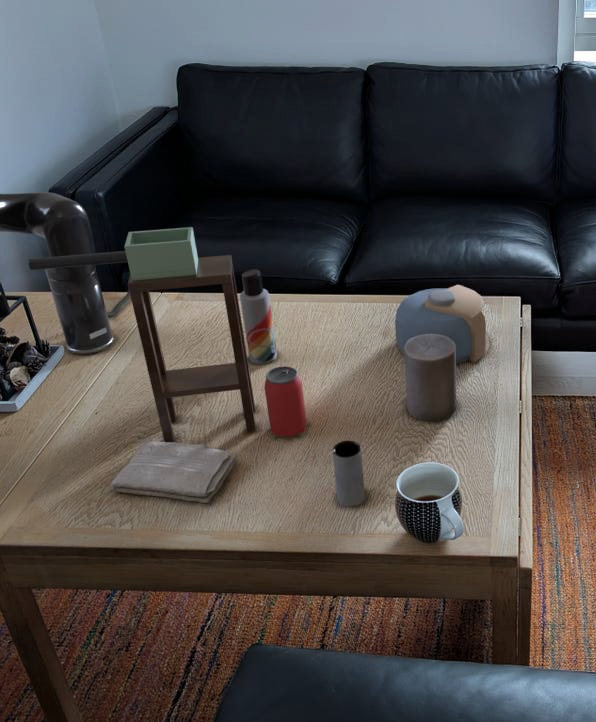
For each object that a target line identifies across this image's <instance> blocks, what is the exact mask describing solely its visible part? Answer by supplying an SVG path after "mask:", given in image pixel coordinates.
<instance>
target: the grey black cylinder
mask: <svg viewBox="0 0 596 722" xmlns="http://www.w3.org/2000/svg"><path fill="white" fill-rule="evenodd" d="M362 452H363V451H362V446H361V444H360V443H358V442H357V441H354V440H350V439H349V440H343V441H339V442H337V443H336V444H335V445H334V446H333V447H332V460H333V470H334V471H333V472H334V480H335V488H336V489H335V490H336V498H337V499H336V500H337V502H338V504H339V505H341V506H343V507H348V508H351V507H352V508H353V507H357V506H359V505H360V504H362V503H363V502H364V501H365V497H366V493H365V480H364V467H363V453H362Z"/></svg>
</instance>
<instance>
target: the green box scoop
mask: <svg viewBox="0 0 596 722" xmlns="http://www.w3.org/2000/svg"><path fill="white" fill-rule="evenodd" d="M198 258H199V256H198V250H197V244H196V239H195V233H194V228H193V227H192V226H190V227H189V226H188V227H178V228H177V227H176V228H163V229H149V230H138V231H128V233H127V236H126V240H125V244H124V250H122V251H121V250H119V251H110V252H98V253H97V252H95V254H83V255H71V256H59V257H50V256H47V257H37V258H35V257H34V258H29V259H28V268H29V270H30V271H38V270H39V271H40V270H45V269H52V268H64V267H76V266H88V265H95V266H96V265H97V266H99V265H109V264H110V265H111V264H122V263H123V264H124V263H128V269H129V272H130V273H131V277H132V281H135V280H146V279H157V278H168V277H179V276H191V275H197V268H198Z"/></svg>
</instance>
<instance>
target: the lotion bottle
mask: <svg viewBox="0 0 596 722" xmlns="http://www.w3.org/2000/svg"><path fill="white" fill-rule="evenodd" d="M241 280H242V286H243V287H242V288H243V290H242V291H241V292H240V294H239V298H240V301H239V302H240V306H241V313H242V319H243V325H244V326H243V327H244V332H245V333H244V334H245V339H246V345H247V346H246V347H247V352H248V357H249V361H251V363H254V364H257V365H265V364H270V363H271V362H274V361H275V360H276V358H277V356H278V354H277V345H276V338H275V329H274V322H273V314H272V307H271V301H270V300H271V299H270V293H269V291H268V290H267V289H265V288H264V284H263V277H262V272H261V271H260V270H259V269H256V268H252V269H248V270H246V271H244V272H243V273H242V274H241Z"/></svg>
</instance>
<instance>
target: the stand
mask: <svg viewBox="0 0 596 722" xmlns="http://www.w3.org/2000/svg"><path fill="white" fill-rule="evenodd" d="M215 285H221V286H222V290H223V297H224V303H225V309H226V315H227V321H228V326H229V332H230V333H229V334H230V339H231V346H232V351H233V357H234V362H230V363H221V364H212V365H203V366H194V367H186V368H185V367H183V368H177V369H176V368H175V369H168V370H167V366H166V361H165V358H164V353H163V349H162V344H161V339H160V334H159V330H158V325H157V321H156V315H155V312H154V307H153V303H152V298H151V293H150V291H161V290H171V289H172V290H173V289H182V288H183V289H184V288H194V287H203V286H205V287H206V286H215ZM127 287H128V289H129V291H130V299H131V303H132V308H133V312H134V317H135V322H136V326H137V331H138V334H139V338H140V342H141V347H142V351H143V357H144V359H145V365H146V368H147V373H148V377H149V382H150V385H151V390H152V395H153V399H154V402H155V403H154V404H155V407H156V411H157V417H158V420H159V424H160V428H161V433H162V437H163V438H162V439H163V442H170V443H171V442H173V443H175V439H176V438H175V432H174V427H173V424H172V423H177V418H178V417H177V411H176V408H175V403H174V399H173V398H180V397H188V396H194V395H195V396H198V395H205V394H213V393H223V392H230V391H231V392H232V391H239V393H240V398H241V405H242V411H243V417H244V423H245V429H246V433H254V432H256V431H257V426H256V420H255V419H256V418H255V413H256V404H255V398H254V391H253V385H252V379H251V378H252V377H251V372H250V365H249V359H248V355H247V346H246V341H245V333H244V328H243V327H244V326H243V322H242V315H241V309H240V301H239V297H238V295H239V294H238V291H237V290H238V289H237V284H236V277H235V269H234V264H233V257H232V255H231V254H227V255H215V256H214V255H212V256H203V257H201V256H200V257H198V268H197V275H191V276H179V277H168V278H157V279H146V280H135V281H132V277H131V273H130V274H129V277H128V282H127Z"/></svg>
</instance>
